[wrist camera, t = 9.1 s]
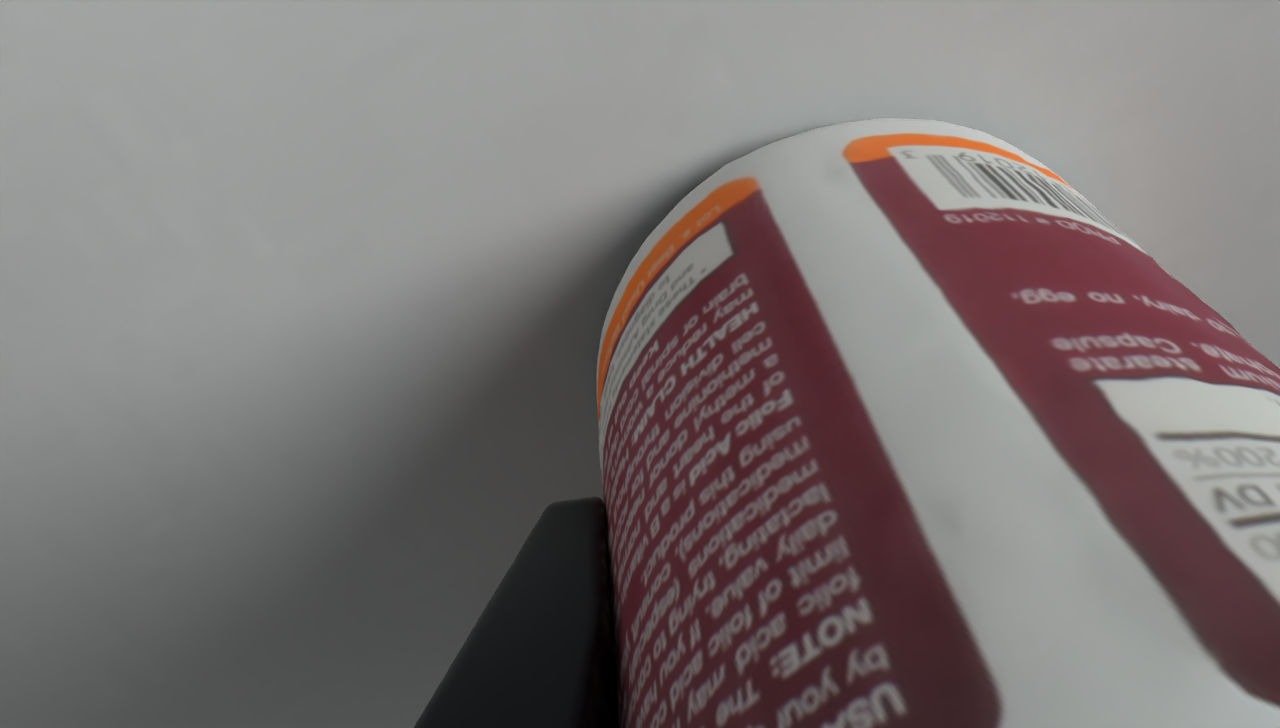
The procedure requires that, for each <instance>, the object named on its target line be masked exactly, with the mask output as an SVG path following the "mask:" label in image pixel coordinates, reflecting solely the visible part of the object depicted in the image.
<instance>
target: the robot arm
mask: <svg viewBox="0 0 1280 728" xmlns="http://www.w3.org/2000/svg"><path fill="white" fill-rule="evenodd" d="M414 728H619V716H618V698H617V674H616V658H615V641H614V624H613V614H612V605H611V586H610V573H609V547H608V536H607V524H606V512H605V504H604V502H603V501H602V500H601V499H600V498H598V497H587V498H580V499H573V500H566V501H558V502H554V503H551V504H550V505H549V506H548V507H546V509H545V510H544V512H543V514H542V515H541V517H540V519H539V520H538V522H537V524H536V525H535V527H534V529H533V530H532V532H531V534H530V535H529V537H528V539H527V540H526V542H525V544H524V545H523V547H522V549H521V550H520V552H519V554H518V555H517V557H516V558H515V560H514V562H513V563H512V565H511V567H510V568H509V570H508V572H507V573H506V575H505V577H504V578H503V580H502V582H501V583H500V585H499V587H498V588H497V590H496V592H495V593H494V595H493V597H492V598H491V600H490V602H489V603H488V605H487V607H486V608H485V610H484V612H483V613H482V615H481V617H480V618H479V620H478V622H477V623H476V625H475V627H474V628H473V630H472V632H471V633H470V635H469V637H468V638H467V640H466V642H465V643H464V645H463V647H462V648H461V650H460V652H459V653H458V655H457V657H456V658H455V660H454V662H453V663H452V665H451V667H450V668H449V670H448V671H447V673H446V675H445V676H444V678H443V680H442V681H441V683H440V685H439V686H438V688H437V690H436V691H435V693H434V695H433V696H432V698H431V700H430V701H429V703H428V705H427V706H426V708H425V710H424V711H423V713H422V715H421V716H420V718H419V720H418V721H417V723H416V725H415V726H414Z"/></svg>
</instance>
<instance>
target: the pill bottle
mask: <svg viewBox="0 0 1280 728" xmlns="http://www.w3.org/2000/svg"><path fill="white" fill-rule="evenodd" d="M597 406H598V430H599V459H600V467H601V476H602V484H603V495H604V504H605V512H606V524H607V536H608V547H609V573H610V586H611V605H612V614H613V624H614V641H615V658H616V674H617V698H618V716H619V728H1280V369H1279V368H1278V367H1276V366H1275V365H1274V364H1273V363H1272V362H1271V361H1269V360H1268V359H1267V358H1266V357H1265V356H1263V355H1262V354H1261V353H1260V352H1259V351H1258V350H1256V349H1255V348H1254V347H1253V346H1252V345H1251V344H1249V343H1248V342H1247V341H1246V340H1245V339H1243V338H1242V337H1241V335H1240V334H1239V333H1238V332H1237V331H1236V330H1235V329H1234V328H1233V327H1232V326H1231V325H1230V324H1229V323H1228V322H1227V321H1226V320H1225V319H1224V318H1222V317H1221V316H1220V315H1219V314H1218V313H1217V312H1216V311H1214V310H1213V309H1212V308H1210V307H1209V306H1208V305H1207V304H1205V303H1204V302H1203V301H1201V300H1200V299H1199V298H1198V297H1197V296H1196V295H1194V294H1193V293H1192V292H1191V291H1190V290H1189V289H1188V288H1186V287H1185V286H1184V285H1182V284H1181V283H1180V282H1179V281H1177V280H1176V279H1175V278H1174V277H1172V276H1171V275H1170V274H1169V273H1168V272H1167V271H1166V270H1165V269H1163V268H1162V267H1161V266H1160V265H1159V264H1158V263H1157V262H1156V261H1155V260H1154V259H1153V258H1152V257H1150V256H1149V255H1148V254H1147V253H1146V252H1145V251H1144V250H1143V249H1142V248H1141V247H1139V246H1138V245H1137V244H1136V243H1135V242H1134V241H1133V240H1132V239H1131V238H1130V237H1129V236H1128V235H1127V234H1125V233H1124V232H1123V231H1122V230H1120V229H1119V228H1118V227H1117V226H1116V225H1114V224H1113V223H1112V222H1111V221H1110V220H1109V219H1108V218H1107V217H1106V216H1104V215H1103V214H1102V213H1101V212H1100V211H1099V210H1098V209H1097V208H1096V207H1095V206H1093V205H1092V204H1091V203H1090V202H1089V201H1088V200H1087V199H1086V198H1084V197H1083V196H1082V195H1081V194H1080V193H1078V192H1077V191H1076V190H1074V189H1073V188H1072V187H1071V186H1070V185H1069V184H1068V183H1067V182H1066V181H1064V180H1063V179H1062V178H1060V177H1059V176H1058V175H1056V174H1055V173H1054V172H1053V171H1051V170H1050V169H1048V168H1047V167H1046V166H1044V165H1043V164H1042V163H1040V162H1039V161H1037V160H1036V159H1034V158H1032V157H1031V156H1029V155H1027V154H1026V153H1024V152H1022V151H1021V150H1019V149H1017V148H1016V147H1014V146H1012V145H1011V144H1009V143H1007V142H1005V141H1003V140H1000V139H998V138H996V137H994V136H991V135H989V134H987V133H984V132H982V131H978V130H975V129H972V128H968V127H964V126H960V125H955V124H951V123H947V122H941V121H935V120H929V119H903V118H875V119H868V120H861V121H853V122H845V123H840V124H835V125H829V126H824V127H821V128H817V129H813V130H809V131H806V132H803V133H800V134H797V135H794V136H791V137H788V138H785V139H782V140H779V141H776V142H773V143H770V144H768V145H766V146H763V147H761V148H759V149H757V150H755V151H753V152H751V153H749V154H747V155H745V156H743V157H741V158H738V159H736V160H734V161H732V162H730V163H728V164H726V165H725V166H723V167H722V168H721V169H719V170H718V171H717V172H715V173H714V174H713V175H711V176H710V177H709V178H707V179H706V180H705V181H704V182H702V183H701V184H700V185H698V186H697V187H696V188H695V189H694V190H693V191H691V192H690V193H689V194H688V195H687V196H686V197H684V198H683V199H682V200H681V201H680V202H679V203H678V204H677V205H676V206H675V207H674V208H673V210H672V211H671V212H670V213H669V214H668V215H667V216H666V217H665V218H664V219H663V220H662V222H661V223H660V224H659V225H658V226H657V227H656V228H655V229H654V230H653V231H652V233H651V234H650V235H649V236H648V237H647V238H646V240H645V241H644V243H643V244H642V246H641V247H640V249H639V250H638V252H637V253H636V255H635V256H634V258H633V259H632V260H631V262H630V264H629V266H628V268H627V270H626V272H625V274H624V276H623V278H622V280H621V282H620V284H619V286H618V288H617V290H616V292H615V294H614V297H613V299H612V302H611V304H610V307H609V309H608V312H607V316H606V319H605V322H604V325H603V328H602V333H601V340H600V346H599V353H598V360H597Z"/></svg>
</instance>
